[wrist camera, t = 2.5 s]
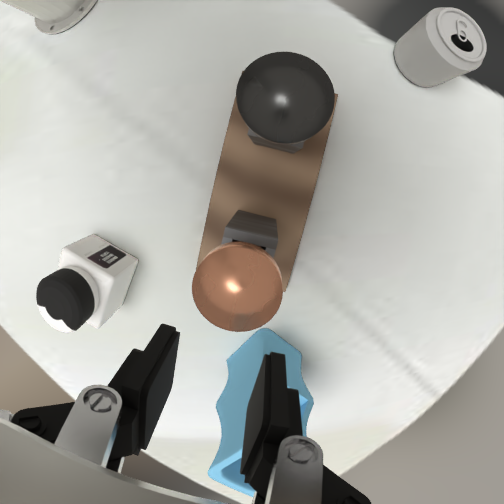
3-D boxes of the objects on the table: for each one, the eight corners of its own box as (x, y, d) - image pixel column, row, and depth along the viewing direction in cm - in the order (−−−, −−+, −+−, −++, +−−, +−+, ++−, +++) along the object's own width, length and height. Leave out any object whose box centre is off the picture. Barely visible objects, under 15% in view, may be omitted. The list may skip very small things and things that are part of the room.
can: (392, 81, 32) (436, 53, 20) (390, 31, 30) (428, -9, 18) (442, 94, 32) (496, 77, 20) (439, 45, 30) (487, 17, 18)
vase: (306, 356, 42) (323, 472, 23) (268, 389, 44) (264, 502, 25) (263, 324, 41) (256, 439, 22) (226, 360, 43) (200, 474, 24)
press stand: (243, 74, 33) (231, 35, 21) (335, 97, 33) (363, 68, 21) (198, 265, 39) (170, 306, 28) (284, 287, 39) (289, 336, 28)
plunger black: (257, 89, 27) (249, 43, 15) (315, 103, 27) (343, 66, 16) (243, 144, 29) (225, 130, 17) (301, 159, 29) (322, 154, 17)
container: (93, 232, 39) (33, 259, 27) (140, 259, 40) (90, 297, 27) (79, 279, 41) (25, 317, 29) (123, 305, 42) (77, 353, 29)
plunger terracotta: (227, 209, 30) (201, 237, 19) (284, 224, 30) (293, 260, 19) (215, 264, 32) (185, 319, 20) (270, 278, 32) (269, 340, 20)
